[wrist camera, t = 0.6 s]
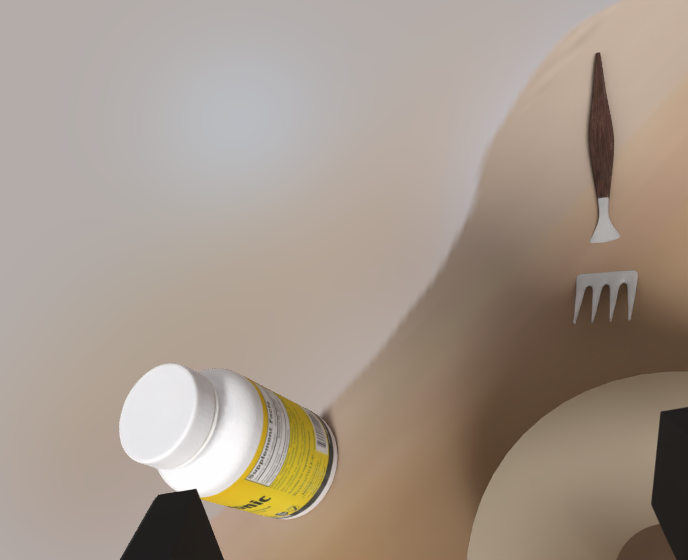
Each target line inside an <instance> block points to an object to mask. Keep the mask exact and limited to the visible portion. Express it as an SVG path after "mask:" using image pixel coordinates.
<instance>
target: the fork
mask: <svg viewBox="0 0 688 560" xmlns="http://www.w3.org/2000/svg"><path fill="white" fill-rule="evenodd" d="M589 147H590V156H591V162H592V168H593V174H594V180H595V186H596V192H597V198H598V204H599V220H598V224H597V227H596V229H595V231H594V233H593V235H592V237H591V239H590V243H601V242H607V241H612V240H615V239H618V238H620V235H619V233H618V232H617V230H616V229H615V228H614V226H613V225H612V223H611V221H610V218H609V213H608V207H609V195H610V186H611V176H612V167H613V156H614V134H613V127H612V121H611V115H610V110H609V105H608V100H607V95H606V89H605V82H604V75H603V68H602V61H601V55H600V53H597V54H596V60H595V73H594V85H593V97H592V106H591V115H590V125H589ZM637 280H638V273H637V272H636V271H633V270H631V271H617V272H603V273H589V274H580V275H578V276H577V278H576V299H575V311H574V320H573V324H576V321H577V317H578V314H579V311H580V307H581V304H582V300H583V296H584V292H585V289H586V288H587V287H588V286H591V287H592V289H593V298H592V318H591V322H592V323H593V322H594V319H595V315H596V311H597V307H598V303H599V299H600V294H601V290H602V288H603V286H604V285H606V284H607V285H609V287H610V322H612V318H613V314H614V310H615V305H616V301H617V296H618V290H619V287H620V285H621V284H622V283H626V284H627V289H628V320H629V321H631V316H632V311H633V305H634V300H635V294H636V286H637Z"/></svg>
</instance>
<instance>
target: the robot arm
mask: <svg viewBox="0 0 688 560" xmlns="http://www.w3.org/2000/svg"><path fill="white" fill-rule="evenodd" d="M651 506H652V508H653V510H654V512H655V515H656V517H657V519H658V521H659V523H660V526H661V528H662V530H663V532H664V535H665V537H666V539H667V541H668V543H669V545H670V547H671V550H672V552H673V554H674V556H675V558H676V560H688V407H685V408H679V409H673V410H667V411H661V412H660V421H659V431H658V441H657V450H656V460H655V470H654V480H653V490H652V499H651ZM120 560H224V559H223V556H222V553H221V551H220V548H219V546H218V543H217V540H216V538H215V535H214V533H213V530H212V527H211V525H210V522H209V520H208V517H207V515H206V512H205V509H204V507H203V504H202V502H201V499H200V496H199V494H198V491H197V489H191V490H185V491H179V492H173V493H167V494H161V495H158V496H157V497H156V498H155V500H154V501H153V503H152V505H151V506H150V508H149V510H148V511H147V513H146V515H145V517H144V518H143V520H142V522H141V524H140V525H139V527H138V529H137V531H136V532H135V534H134V536H133V538H132V539H131V541H130V543H129V545H128V546H127V548H126V550H125V552H124V553H123V555H122V557H121V558H120Z"/></svg>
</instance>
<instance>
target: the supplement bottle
mask: <svg viewBox="0 0 688 560" xmlns="http://www.w3.org/2000/svg"><path fill="white" fill-rule="evenodd" d="M119 431H120V432H119V433H120V440H121V444H122V446H123V449H124V450H125V452H126V453H127V454H128V456H130V457H131V458H132V459H133V460H135V461H137V462H139V463H142V464H146V465H149V466H152V467H154V468H157V469H158V472H159V473H160V475H161V477H162V478H163V479H164V481H165V482H166V483H167V484H168V485H169V486H170V487H172V488H173V489H174V490H176V491H178V492H179V491H185V490H191V489H197V491H198V494H199V496H200V499H202V500H205V501H209V502H213V503H216V504H220V505H224V506H228V507H231V508H236V509H240V510H244V511H247V512H251V513H255V514H259V515H263V516H267V517H271V518H276V519H292V518H296V517H299V516H302V515H304V514H306V513H308V512H309V511H310V510H312V509H313V508H314V507H316V506H317V505H318V504H319V503H320V501H321V500H322V499H323V498H324V496H325V495H326V493H327V492H328V490H329V488H330V486H331V484H332V482H333V479H334V476H335V472H336V467H337V459H338V454H337V445H336V441H335V438H334V435H333V433H332V431H331V429H330V427H329V426H328V425H327V423H326V422H325V421H324V420H323V419H322V418H321V417H319V416H318V415H316V414H315V413H313V412H312V411H310V410H308V409H306V408H304V407H302V406H300V405H298V404H296V403H294V402H292V401H290V400H288V399H286V398H284V397H282V396H281V395H279V394H276V393H274V392H272V391H271V390H269V389H267V388H265V387H263V386H261V385H259V384H257V383H255V382H254V381H251V380H250V379H248V378H246V377H244V376H242V375H239V374H237V373H235V372H233V371H230V370H226V369H208V370H204V371H201V372H196V371H194V370H192V369H190V368H187V367H185V366H183V365H180V364H175V363H167V364H163V365H160V366H157V367H155V368H153V369H152V370H150V371H149V372H147V373H146V374H145V375H144V376H143V377H142V378H141V379H140V380H139V381H138V382H137V383H136V384H135V385H134V387H133V388H132V390H131V391H130V393H129V395H128V397H127V399H126V401H125V403H124V406H123V409H122V413H121V417H120V424H119Z"/></svg>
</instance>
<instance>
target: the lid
mask: <svg viewBox="0 0 688 560" xmlns="http://www.w3.org/2000/svg"><path fill="white" fill-rule="evenodd" d="M685 407H688V371H668V372H659V373H650V374H642V375H636V376H632V377H628V378H624V379H619V380H615V381H611V382H609V383H606V384H603V385H601V386H598V387H595V388H592V389H590V390H587V391H585V392H583V393H581V394H579V395H577V396H575V397H573V398H572V399H570V400H568V401H566V402H564V403H562V404H561V405H559V406H558V407H556V408H555V409H554V410H552V411H551V412H549V413H548V414H546V415H545V416H543V417H542V418H541V419H540V420H539V421H538V422H537V423H535V424H534V425H533V426H532V427H531V428H530V429H529V430H528V431H527V432H525V433H524V434H523V435H522V437H521V438H520V439H519V440H518V441H517V442H516V444H515V445H514V446H513V447H512V448H511V449H510V451H509V452H508V453H507V454H506V456H505V457H504V459H503V460H502V462H501V463H500V465H499V467H498V468H497V470H496V471H495V473H494V474H493V476H492V478H491V480H490V482H489V484H488V486H487V488H486V490H485V493H484V495H483V497H482V499H481V502H480V505H479V508H478V511H477V514H476V517H475V520H474V523H473V527H472V532H471V537H470V542H469V546H468V553H467V560H676V558H675V556H674V554H673V552H672V550H671V547H670V545H669V543H668V541H667V539H666V537H665V535H664V532H663V530H662V528H661V526H660V523H659V521H658V519H657V517H656V515H655V512H654V510H653V508H652V506H651V499H652V490H653V480H654V470H655V460H656V450H657V441H658V431H659V421H660V412H661V411H667V410H673V409H679V408H685Z"/></svg>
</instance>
